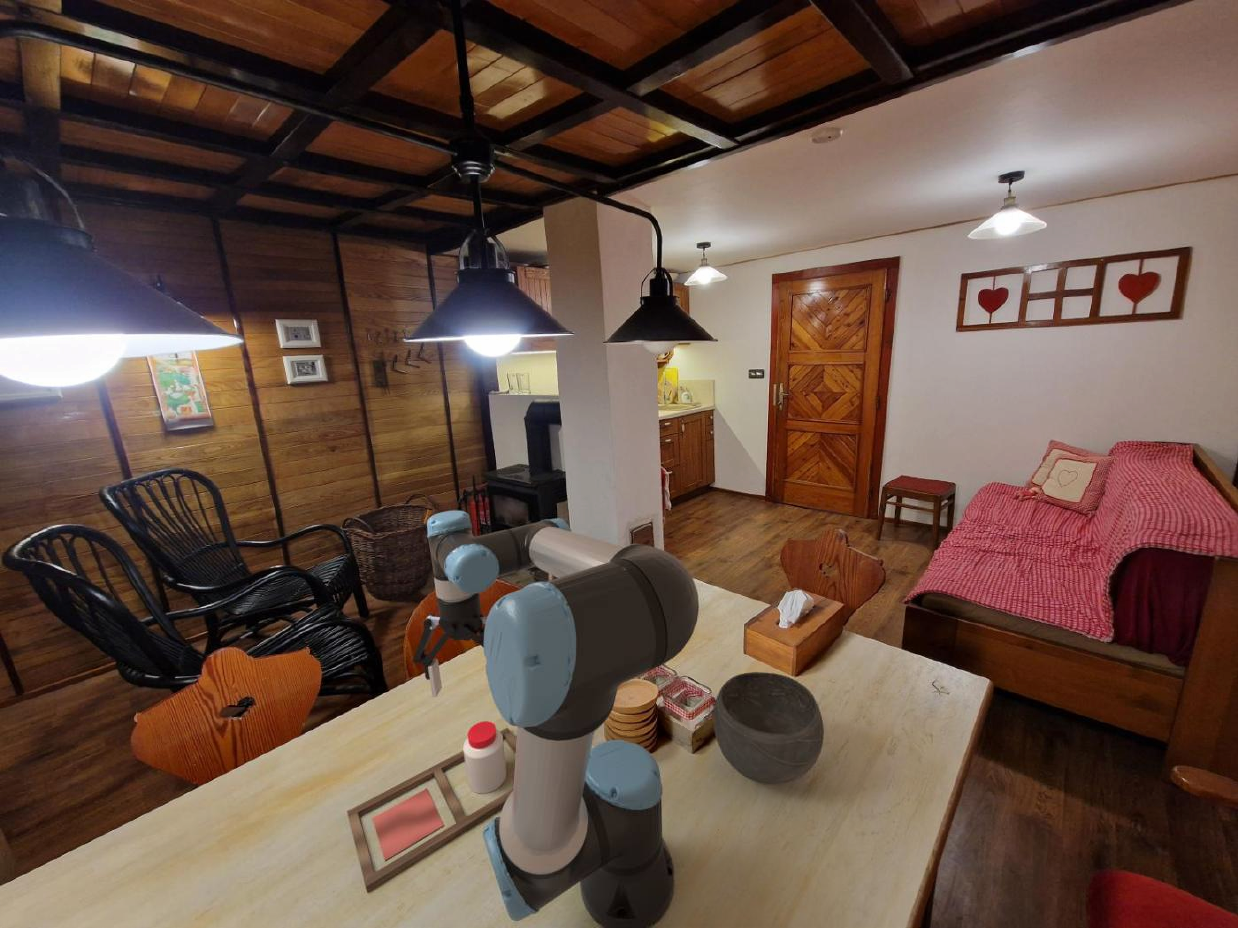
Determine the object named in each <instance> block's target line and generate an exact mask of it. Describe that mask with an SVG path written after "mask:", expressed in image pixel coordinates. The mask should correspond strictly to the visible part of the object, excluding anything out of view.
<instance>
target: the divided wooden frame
mask: <svg viewBox="0 0 1238 928" xmlns="http://www.w3.org/2000/svg"><path fill="white" fill-rule="evenodd" d="M499 731H500V732H501V734H502V736H503V741H504V740H505V742H506V743H507V744H508V746H509V747H510V749H511V750H512V751H513V753H514V754H515V755H516V740H517V737H515V736H514V734H513V733H512V732H511V730H510V728H509V727H506V728H504V729H502V730H499ZM463 762H465V760H464V752H463V750H462V751H460V752H458V753H456V754H454V755H452V756H450V757H449V758H447V759H444V760H442V761H440V762H439V763H436V764H435V765H433V766H431V767H429V768H428V769H425V770H424V771H421V772H420V773H418V774H416V775H413V776H412V777H410V778H408V779H407V780H404V781H402V782H400V783H399V784H396V785H395V786H393V787H391V788H389V789H387V790H385V791H383V792H381V793H380V794H377V795H376V796H374V797H372V798H370V799H367V800H366V801H364V802H362V803H360V804H359V805H357V806H355V807H352V808H350V809H349V810H347V817H348V820H349V825H350V829H351V834H352V838H353V841H354V845H355V849H356V850H355V851H356V852H357V853H356V854H357V857H358V862H359V866H360V868H361V874H362V877H363V881H364V886H365V890H366V892H367V893H368V892H370V891H372V890H373V889H375V888H377V887H378V886H380V885H381V884H383V883H384V882H386V881H388V880H390V879H391V878H392V877H394V876H396V875H398V874H399V873H401V872H402V871H404V870H406V869H407V868H408V867H411V866H412V865H413V864H415V863H417V862H419V861H420V860H421V859H423V858H425V857H427V856H428V855H430V854H431V853H433V852H434V851H436V850H437V849H440V848H441V847H442V846H444V845H446V844H447V843H449V842H450V841H452V840H454V839H456V838H457V837H458V836H460V835H463V834H464V833H465V832H467V831H468V830H470V829H471V828H473V827H474V826H477V825H478V824H479V823H481V822H483V821H484V820H486V819H488V818H489V817H490V816H492V815H494V814H496V813H497V812H498V811H500V810H502V809H503V806H504V804H505V802H506V800H507V798H508V797H509V795H510V794H511V793H512V791H513V789H514V787H513V788H511V790H509V791H507V792H505V793H504V794H502V795H500V796H498V797H497V798H496V799H493V800H492V801H490V802H489V803H487V804H485V805H484V806H482V807H481V808H479V809H477V810H475V811H474V812H472V813H470V814H468V815H467V816H466V815H465V812H464V811H463V809H462V807H461V805H460V803H459V801H458V799H457V797H456V796H455V794H454V791H453V789H452V787H451V786H450V783H449V782H448V780H447V777H446V776H445V774H444V772H446V771H449V770H450V769H452V768H455V766H457V765H460V764H461V763H463ZM433 778H434V779H435V781H436V784H437V787H438V789H439V790H440V792H441V794H442V796H443V798H444V800H445V803H446V804H447V806H448V810H449V811H450V813H451V815H452V817H453V819H454V821H455V823H454V824H452V825H451V826H449V827H447V828H446V829H444V830H443V831H440V832H439V833H437V834H436V835H434V836H433V837H431V838H429V839H428V840H426V841H425V842H423V843H421V844H419V845H418V846H416V847H415V848H413V849H411V850H409V851H407V852H406V853H405V854H403V855H401V856H400V857H398V858H396V859H394V860H393V861H391V862H390V863H388V864H386V865H385V866H383V867H381V868H379V869H378V870H376V871H374V867H373V864H372V861H371V857H370V853H369V849H368V846H367V842H366V839H365V835H364V832H363V828H362V824H361V820H360V817H363V816H364V815H366V814H368V813H369V812H372V811H374V810H376V809H377V808H379V807H381V806H383V805H385V804H386V803H388V802H390V801H392V800H394V799H396V798H398V797H400V796H401V795H403V794H406V793H407V792H409V791H411V790H412V789H414V788H416V787H418V786H420V785H422V784H424V783H426V782H428V781H429V780H432V779H433ZM371 819H372V822H373V825H374V828H375V833H376V835H377V839H378V842H379V845H380V849H381V852H382V855H383V858H384V861H385V862H386V861H388V860H390V859H392V858H393V857H395V856H396V855H398V854H399V853H402V852H403V851H405V850H406V849H408V848H410V847H411V846H413V845H415V844H416V843H418V842H420V841H421V840H423V839H425V838H427V837H428V836H429V835H431V834H433V833H435V832H436V831H438V830H440V829H441V828H444V823H443V821H442V818H441V817H440V814H439V811H438V810H437V807H436V805H435V803H434V801H433V799H432V796H431V794H430V791H429V790H428V788H424V789H423V790H422V791H419V792H417V793H416V794H414V795H412V796H409V797H408V798H407V799H405V800H403V801H401V802H399V803H397V804H395V805H394V806H391V807H390V808H388V809H386V810H384V811H383V812H381V813H379V814H377V815H375V816H373V817H372V818H371Z"/></svg>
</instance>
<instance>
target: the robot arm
mask: <svg viewBox="0 0 1238 928" xmlns="http://www.w3.org/2000/svg"><path fill="white" fill-rule="evenodd" d="M426 526H427V527H426V528H427V535H426V537H427V539H428V544H429V552H430V558H431V564H432V570H433V581H434V585H435V586H434V588H435V595H436V602H437V603H436V604H437V609H438V614H439V617H438V616H436V615H435V614H434V613H429V615H428V616H427V617H426V619H424V621H423V632H422V634H421V637H420V639H419V642H418V646H417V648H416V650H415V652H414V655H413V658H412V663H413V664H416V665H418V664H421V665H422V666H423V671H424V676H425V679H426V680H429V684H430V689H431V696H432V697H431V698H437V697H438V695H439V693H440V692H441V690H442V689H443V686H442V679H441V671H440V667H439V666H440V665H439V659H438V658H435V657H436V656H437V654H439V652H440V650H441V649H442V647H444V645H445V644H446V643H447V642H448V640H449V639H452V640H453V641H454V642H458V641H461V640H462V641H466V642H469V641H471V640H472V641H473V643H476V644H478V645H479V646H481V647H482V648H483V655H484V657H485V659H486V664H485V672H486V673H485V674H486V677H487V682H488V687H489V691H490V693H491V696H492V699H493V701H494V704H495V707H496V709H497V710H498V712H499V714H500V716H502V718H503V719H504V721H505V722H507V723H508V725H510V726H513V727H516V728H517V729H516V739H517V740H516V754H515V757H514V758H515V760H514V761H515V762H514V774H513V775H514V776H513V788H514V789H513V788H512V789H513V791H512V793H511V794H510V795H509V797H508V798H507V800H506V802H505V804H504V806H503V808H502V809H501V813H500V816H497V817H494V818H492V820H491V821H489V822H488V823H487V824H486V825H485V826H484V828H483V830H482V837H483V841H484V844H485V847H486V850H487V854H488V856H489V860H490V863H491V866H492V870H493V872H494V875H495V879H496V882H497V885H498V887H499V891H500V893H501V896H502V900H503V903H504V907H505V909H506V912H507V915H508V917H509V919H510V920H512V921H514V922H520V921H523V920H524V919H526V918H528V917H529V916H531V915H536V914H537V913H538V912H540V910H541V909H542V908H544V907H545V906H546V905H548V904H550V903H551V902H553V901H554V900H555V899H556V898H558V897H560V896H561V895H562V894H564V893H565V892H567V891H568V890H570V889H572V887H574V886H575V885H577V884H578V883H580V894H581V898H582V902H583V904H584V907H585V909H586V910H587V912H588V914H589V915H590V916H591V918H592V919H593V920H594V921H595V922H596V923H597V924H599V925H600V926H601V927H603V928H647V927H649V928H651V927H652V925H653V926H654V925H655V924H656V923H658V921H660V920H661V919H662V917H663V916H664V915H665V913H666V912H667V910H668V909H669V907H670V904H672V903H671V902H672V900H673V896H674V892H675V869H674V863H673V858H672V856H671V853H670V850H669V847H668V846H667V844H666V842H665V840H664V838H663V811H662V809H663V807H662V796H663V784H662V781H661V780H662V778H661V772H660V767H659V764H658V763H657V760H656V759H655V758H654V756H653V754H652V753H650V752H649V751H648V750H647V748H644V747H643V746H641V745H640V744H638V743H635V742H629V741H626V740H624V739H611V740H607V741H603V742H601V743H597V745H595V746H594V747H592V745H593V741H594V735H595V732H596V731H598V730H599V729H600V728H601V727H602V725H604V723H606V721H607V720H608V718H609V717H610V715H611V713H612V711H613V709H614V706H615V705H614V704H615V701H616V697H617V694H618V693H617V692H618V688H619V687H620V686H621V685H622V684H624V683H627V682H628V681H631V680H633V679H635V678H637V677H639V676H642V675H644V674H645V673H648V672H649V671H652V670H654V669H656V668H658V667H660V666H663V665H664V664H666V663H668V662H670V661H671V660H672V659H674V658H675V657H677V655H679V653H681V652H682V650H683V649H684V648H685V647H686V645H687V644H688V642H689V641H690V639H691V638H692V635H694V634H693V633H694V632H695V628H696V625H697V622H698V618H699V611H700V610H699V608H700V607H699V605H700V603H699V595H698V589H697V586H696V583H695V581H694V579H693V576H692V575H691V573H690V571H689V569H688V568H687V567H686V566H685V565H684V564H683V562H682V561H681V560H680V559H679V558H677V557H676V556H674V555H673V554H672V553H671V552H670V553H669V552H667V551H665V550H664V549H661V548H657V547H655V546H654V547H653V546H650V545H647V544H643V543H632V544H627V545H625V546H621V545H617V544H614V543H610V542H607V541H604V540H600V539H597V538H594V537H590V536H586V535H584V534H580V533H577V532H573V531H572V529H571V526H570V525H569V524H568V523H567V522H566V520H564V519H563V518H561V517H560V518H558V517H557V518H551V519H541V520H540V521H537V522H534V523H533V522H532V523H530V524H526V525H522V526H518V527H517V526H516V527H512V528H509V529H508V528H507V529H504V530H499V531H494V532H490V533H486V534H482V535H478V536H475V535H474V534H473V531H472V528H473V525H472V522H471V517H470V515H469V514H468V512H466V511H464V510H446V511H442V512H439V513H436V514H432V515H431V516H430V517H429V518H428V520H427V522H426ZM531 568H536V569H540V570H542V571H543V572H546V573H547V574H549V575H551V576H553V577H556V578H553V579H551V580H547V581H536V582H532V583H529V584H528V585H526V586H524V587H523V588H521V589H519V590H515V591H513V592H510V593H507V594H505V595H503V596H502V597H500V598H499V599H498V600H497V601H496V602H495V603H494V604H493V606H491V608H490V610H489V613H488V615H487V616H484V615H483V613H482V609H481V608H482V605H481V598H480V594H481V593H483V592H485V591H487V589H489V588H490V587H492V586H493V585H494V584H495V583H496V581H497V579H498V578H500V577H503V576H507V575H510V574H513V573H517V572H521V571H525V570H528V569H531ZM483 625H485V626H483ZM438 626H439V628H441V629H442V631H444V633H443V634H442V636H441V637H440V638H439V640H438V641H437V642H436V643H435V645H434V646H433V647H432V649H431V650H430V651H429V653H428V654H427V653H426V651H427V648H428V646H429V643H430V641H431V637H432V636H433V633H434V631H435V629H436V628H437V627H438ZM478 633H479V634H478ZM650 926H651V927H650Z"/></svg>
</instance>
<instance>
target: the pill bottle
mask: <svg viewBox="0 0 1238 928" xmlns="http://www.w3.org/2000/svg"><path fill="white" fill-rule="evenodd" d="M500 731H501V730H499V729H497V727H496V724H494V723H493V722H491V721H487V720H486V721H480V722H477V723H475V724H474V725H472V726H471V727H470V728H469V729H468V730H467V737H466V739H465V741H464V743H463V746H462V751H463V752H464V760H465V761H464V767H465V773H466V774H465V775H466V782H467V787H468V788H469V790H470V791H472V792H474V793H475V794H481V795H482V794H489V793H492V792H493V791H496V790H497V789H499V788H500V787H501V785H503V783H505V780H506V778H507V774H508V771H507V762H506V753H505V746H504V745H505V744H504V740H503V736H502V734H501V732H500Z"/></svg>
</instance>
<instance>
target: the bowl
mask: <svg viewBox="0 0 1238 928" xmlns="http://www.w3.org/2000/svg"><path fill="white" fill-rule="evenodd" d="M820 710H821V709H820V708H819V704H818V702H817V700H816V699H815V697H814V694H813V693H812V692H811V691H810V690H809V689H808V688H807V687H805V686H804V685H803V683H800V682H799V681H797V680H796V679H794V678H791V677H790V676H787V675H783V674H778V673H773V672H758V671H753V672H744V673H740V674H737V675H734V676H732V677H731V678H729V679H728V680H727V681H726V682H725V683H724V684H723V685H722V686H721V687H720V690H719V692H718V694H717V695H716V698H715V702H714V707H713V719H712V720H713V721H712V722H713V730H714V735H715V738H716V742H717V744H718V747H719V749H720V751H721V753H722V755H723V757H724V758H725V760H726V761H727V762H728V763H729V765H731V766H732V767H733V769H734V770H736V771H737V772H738V773H739V774H741V775H742V776H743V777H744V778H747V779H748V780H751V781H754V782H756V783H759V784H764V785H773V786H774V785H782V784H787V783H790V782H793V781H795V780H797V779H801V777H803V776H804V775H806V774H807V773H808V772H809V771H810V770H811V769H812V768H813V767H814V765H815V764H816V763H817V761H818V758H819V756H820V754H821V753H822V748H823V745H824V744H823V743H824V739H825V738H824V735H825V731H824V723H823V717H822V713H821V711H820Z"/></svg>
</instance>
